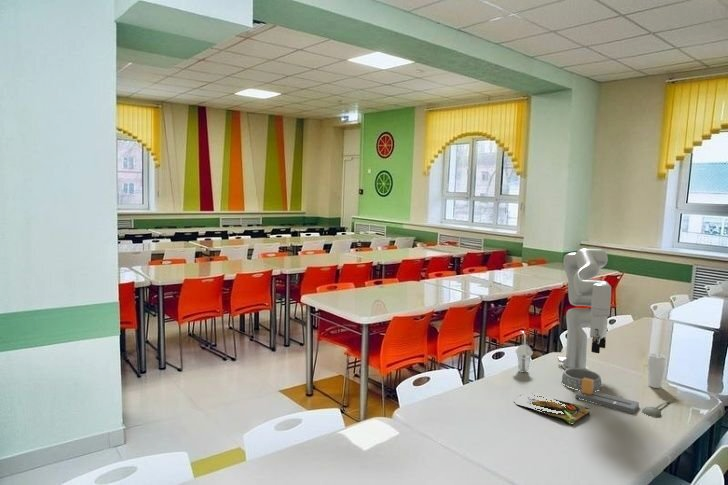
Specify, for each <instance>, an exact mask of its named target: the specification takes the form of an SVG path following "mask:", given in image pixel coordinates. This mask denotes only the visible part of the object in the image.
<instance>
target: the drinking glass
mask: <svg viewBox="0 0 728 485" xmlns="http://www.w3.org/2000/svg"><path fill="white" fill-rule="evenodd" d="M665 365H666V357H665V355H663V354H661V353H651V352H650V353H648V358H647V371H648V373H647V374H648V375H647V376H648V378H647V379H648V384H647V385H648V386H649V387H650V388H653V389H660V388H662V384H663V383H662V382H663V378H664V371H665Z"/></svg>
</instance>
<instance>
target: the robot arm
mask: <svg viewBox="0 0 728 485" xmlns="http://www.w3.org/2000/svg"><path fill="white" fill-rule="evenodd" d="M608 258H609V257H608V254H607V252H606V251H605V250H604V249H602V248H601V249H600V248H581V249H579V250H577V251H576V252H570V253H567V254H565V255H564V256H563V268H564V272H565V274H566V277H567V288H568V289H567V291H568V292H567V293H568V301H569V303H570V305H572V306H576V307H573V308H570V309H568V310H567V311H566V317H565V319H566V327H567V328H566V329H567V332H566V335H567V336H566V349H565V350H566V351H565V352H566V353H565V354H566V355H565V357H561V356H558V358H557V360H558V362H560V363H563V364H562V368H563V369H564V370H566V369H571V368H577V369H585V370H589V371H590V367H589V366H587V351H588V350H587V349H588V335H587V333H586V332H585V330H584V329H583V328H585V329H586V328H589V329H590V331H589V337H590V338H591V352H592V353H594V354H600V353H601V352H600V351H601V349H605V348H606V345H607V344H606V340H607V339H606V337H607V334H608V317H610V315H611V302H612V301H611V299H612V286H611V285H610V284H609V282H608V281H606V280H597V279H596V280H595V279H593V278H595V277H596V276H597V275H599V272H600V269H602V268H604V267H606V265H607V264H608V262H609V259H608ZM591 279H593V280H591ZM577 306H579V307H577ZM581 307H583V308H581ZM584 307H590V308H584Z"/></svg>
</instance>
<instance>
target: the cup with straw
mask: <svg viewBox="0 0 728 485" xmlns="http://www.w3.org/2000/svg"><path fill="white" fill-rule="evenodd" d="M520 333H522V335H523V337H524V338H523V344H520V345H519V346H517V348H516V350H515V351H514V352H515V354H516V356H517V357H516V358H517V366H518V371H519V370H520V371H523V372H527V371H528V372H529V369H530V368H529V367H530V363H531V358H532V356H533V354H534V352H533V351H532V349H531V347H530V346H529V345H527V344H526V342H527V340H526V339H527V338H526V337H527V336H526V334H525V332H524V331H523V330H520Z"/></svg>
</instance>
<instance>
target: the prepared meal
mask: <svg viewBox="0 0 728 485" xmlns="http://www.w3.org/2000/svg"><path fill="white" fill-rule="evenodd" d="M521 395H522V394H521ZM521 395H519V396H521ZM534 396H535V395H534ZM537 397H538V396H537ZM539 397H542V396H539ZM543 398H544V397H543ZM553 399H554V398H553ZM546 400H547V399H546ZM554 400H556V401H559V402H560V403H562V404H565V405H566V406H565V407H566V408H565V407H564V406H561V405H562V404H559V403H558V404H557V403H555V402H552V400H550V401H551V402H548V401H547V402H546V401H539V400H535V401H532V404H533V405H536V406H540V407H544V408H548V409H551V410H556V411H562V412H563V413H564V414H561V413H558V414H556V413H552V412H547V411H542V410H543V409H541V410H540V409H537V410H540V411H542V412H543V413H544V412H545V414H544V415H547V414H548V415H547V416H550V417H555V418H559V419H560V418H561V419H563V420H564V421H566V422H567V423H568V422H570V423H574V424H575V422H576V421H578V420H579V419H581V418H582V417H584V416H585V415H587V414H590V409H591V408H589V407H586V406H583V405H580V404H577V403H576V404H575V403H571V402H568V401H563V400H559V399H554ZM535 409H536V408H535ZM543 413H542V414H543ZM570 423H569V424H570Z"/></svg>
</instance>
